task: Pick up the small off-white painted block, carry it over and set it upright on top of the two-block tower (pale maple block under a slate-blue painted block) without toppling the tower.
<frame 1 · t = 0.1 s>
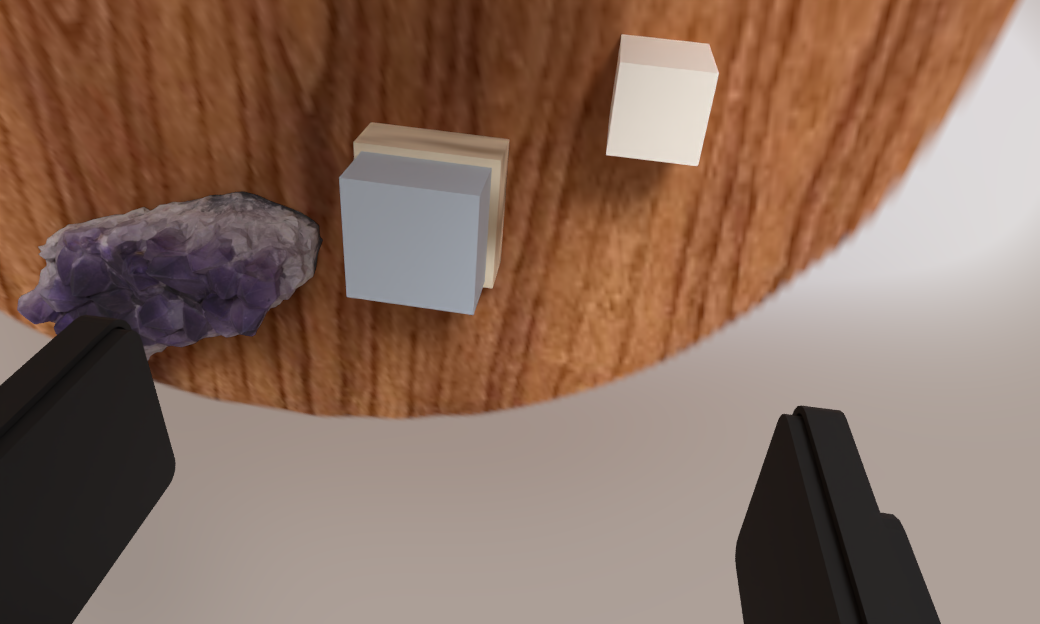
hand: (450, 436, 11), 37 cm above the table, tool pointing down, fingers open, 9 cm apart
tower top: (425, 219, 47), point 4 cm above the table, touching tower base
white block: (657, 82, 44), on the table
geode: (201, 248, 55), on the table
tower base: (439, 192, 50), on the table, touching tower top
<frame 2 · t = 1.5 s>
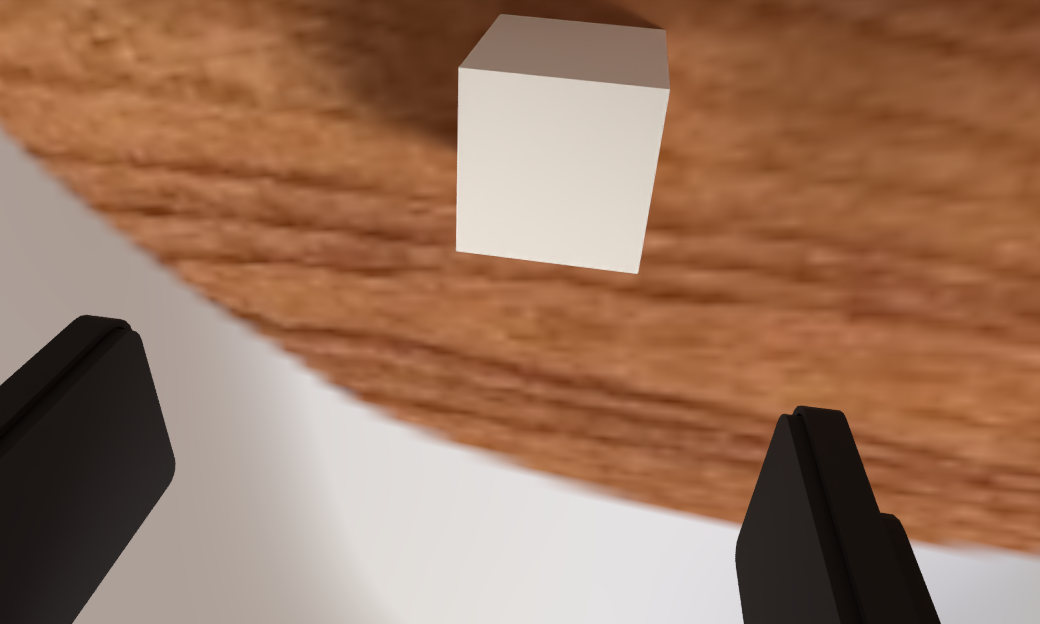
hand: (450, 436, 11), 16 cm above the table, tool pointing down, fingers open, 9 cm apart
white block: (573, 103, 24), on the table
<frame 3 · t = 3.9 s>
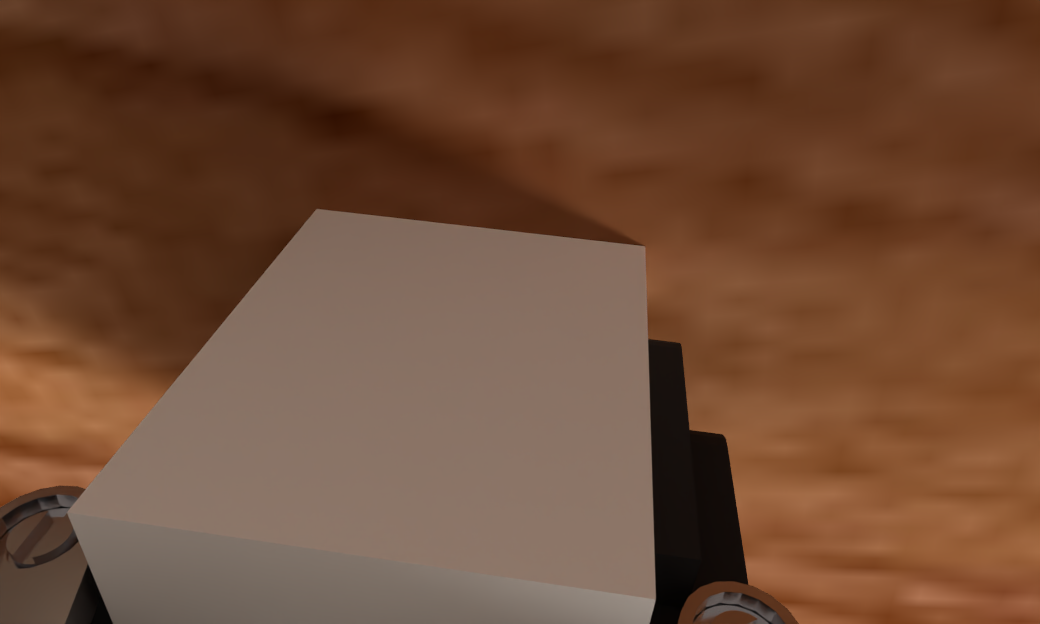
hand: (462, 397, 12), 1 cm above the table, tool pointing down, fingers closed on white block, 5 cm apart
white block: (473, 359, 12), on the table, touching gripper
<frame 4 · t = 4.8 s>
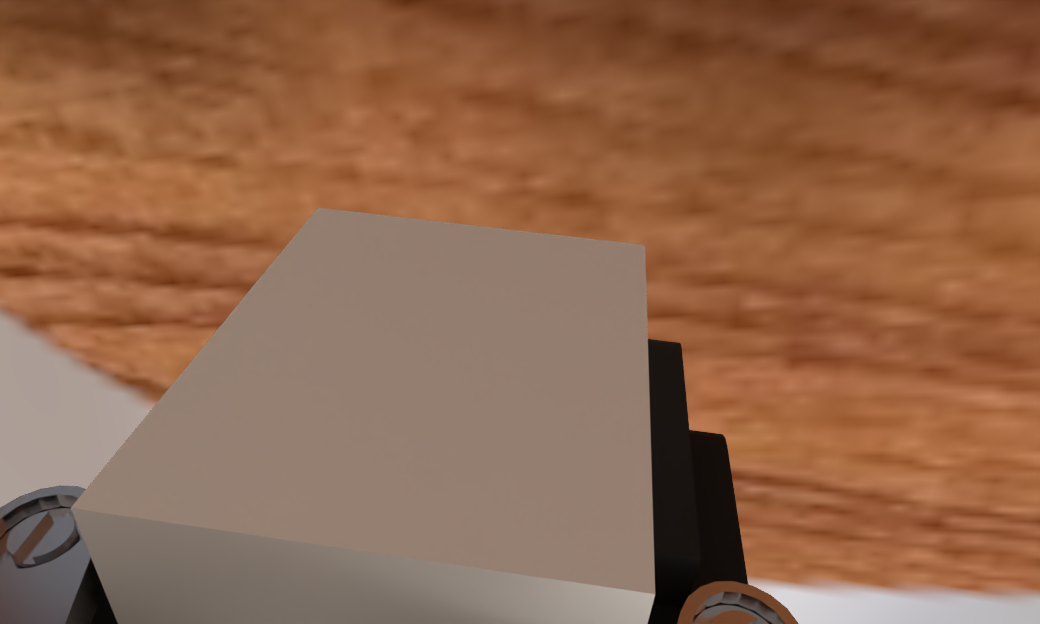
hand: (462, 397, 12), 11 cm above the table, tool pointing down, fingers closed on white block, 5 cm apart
white block: (474, 357, 13), point 10 cm above the table, touching gripper
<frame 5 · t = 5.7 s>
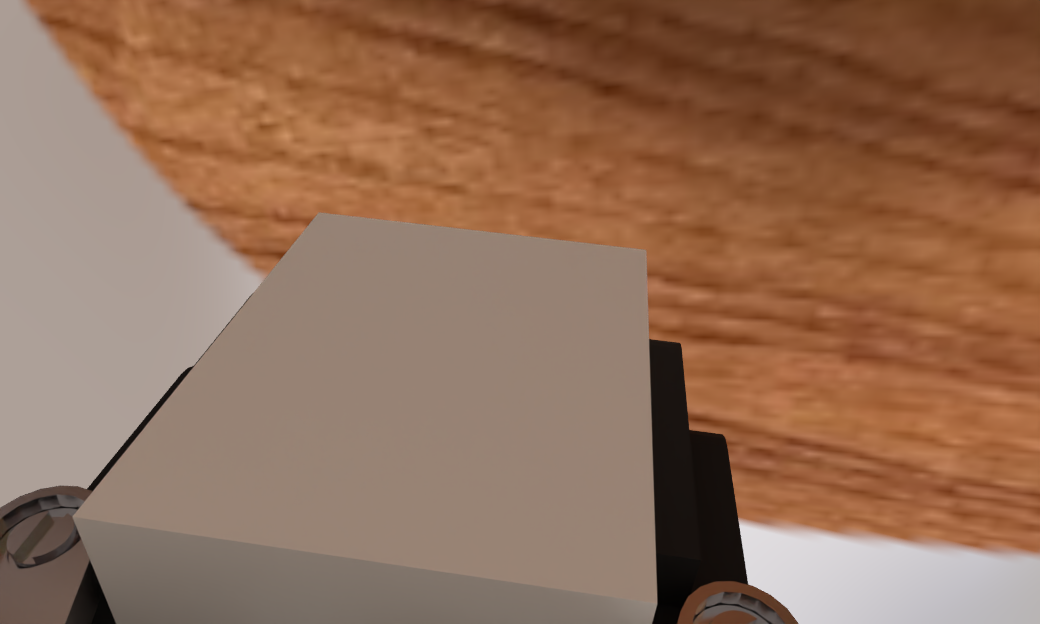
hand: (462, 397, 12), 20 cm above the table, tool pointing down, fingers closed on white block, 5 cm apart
white block: (475, 362, 13), point 19 cm above the table, touching gripper
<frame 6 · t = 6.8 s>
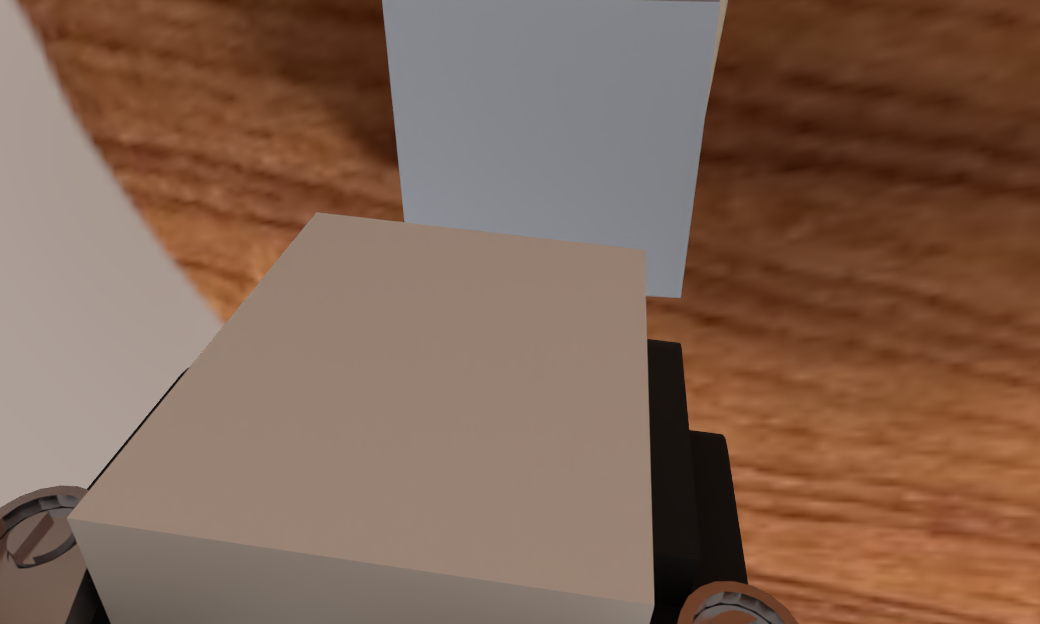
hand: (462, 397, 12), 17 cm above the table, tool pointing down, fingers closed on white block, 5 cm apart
tower top: (558, 111, 23), point 4 cm above the table, touching tower base
white block: (473, 362, 12), point 16 cm above the table, touching gripper
tower base: (566, 80, 26), on the table, touching tower top
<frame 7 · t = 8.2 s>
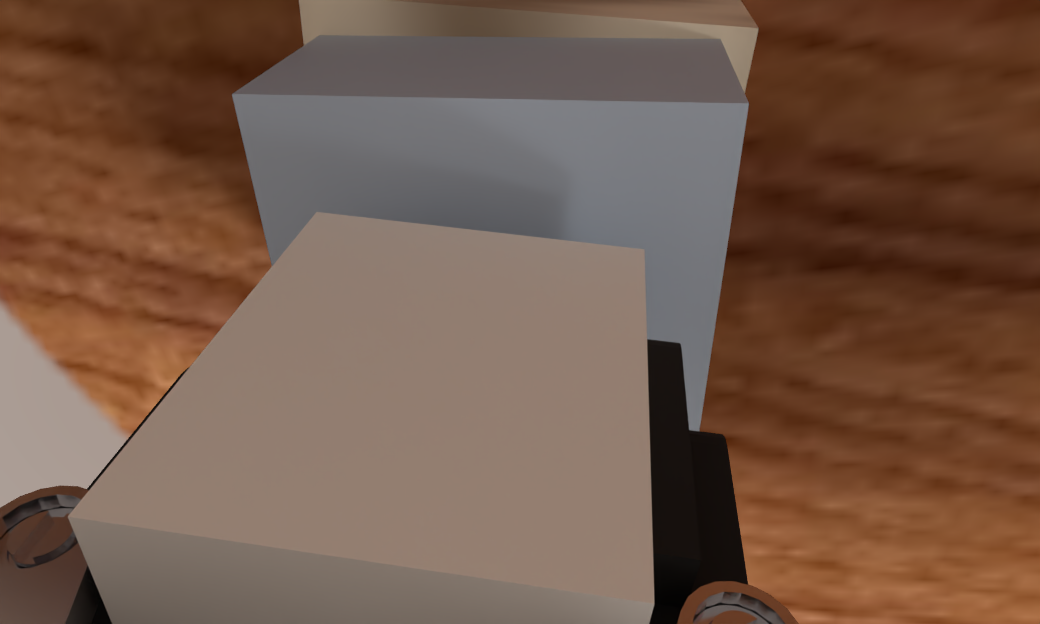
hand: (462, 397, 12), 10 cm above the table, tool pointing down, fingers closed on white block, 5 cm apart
tower top: (517, 220, 17), point 4 cm above the table, touching tower base
white block: (473, 361, 12), point 9 cm above the table, touching gripper
tower base: (532, 154, 20), on the table, touching tower top
when the fingers open (10 cm above the table, at t = 9.1 s): white block drops 1 cm, resting on tower top.
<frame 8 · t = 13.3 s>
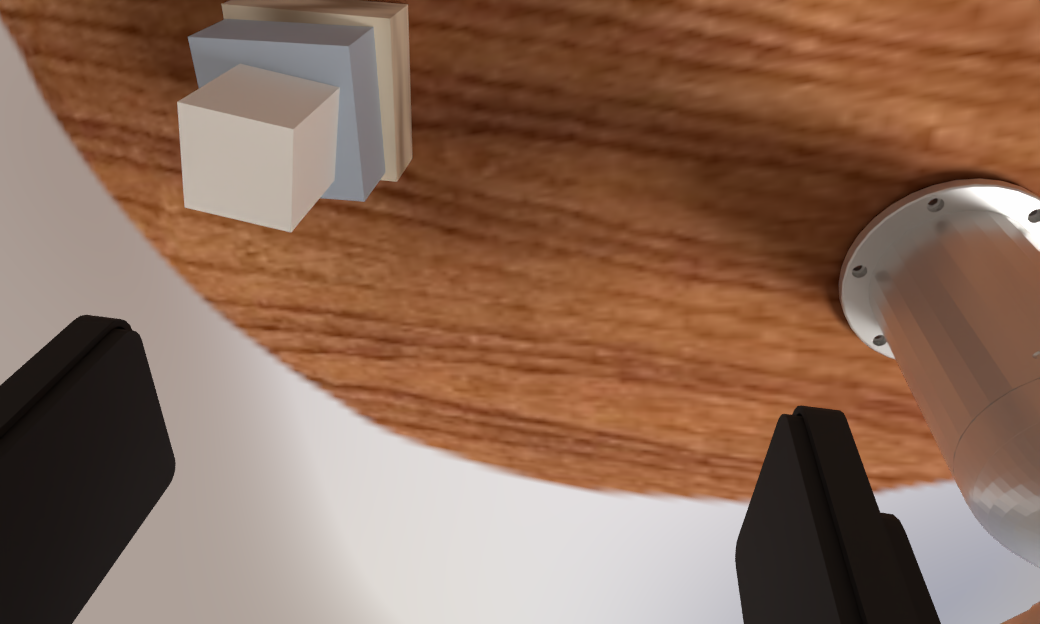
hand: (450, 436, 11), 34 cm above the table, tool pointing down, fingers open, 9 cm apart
tower top: (309, 98, 41), point 4 cm above the table, touching white block
white block: (289, 124, 37), point 8 cm above the table, touching tower top
tower base: (337, 77, 44), on the table
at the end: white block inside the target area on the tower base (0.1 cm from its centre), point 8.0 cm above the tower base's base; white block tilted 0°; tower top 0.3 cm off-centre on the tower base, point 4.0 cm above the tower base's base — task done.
